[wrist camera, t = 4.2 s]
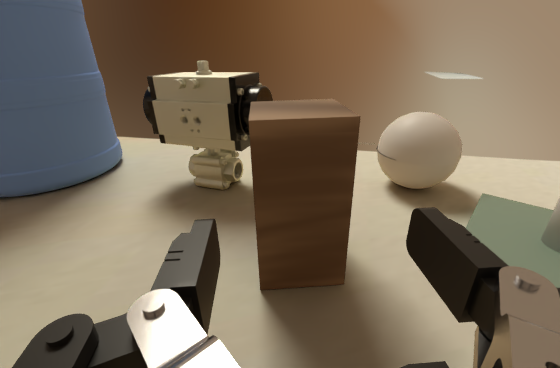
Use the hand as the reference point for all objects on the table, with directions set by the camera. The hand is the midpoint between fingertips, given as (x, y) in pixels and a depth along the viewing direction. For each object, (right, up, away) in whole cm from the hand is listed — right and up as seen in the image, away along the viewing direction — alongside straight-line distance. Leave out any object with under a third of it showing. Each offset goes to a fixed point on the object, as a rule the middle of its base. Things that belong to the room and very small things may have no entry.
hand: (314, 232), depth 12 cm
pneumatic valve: (-8, +2, +19) cm, 21 cm away
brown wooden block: (0, -3, +8) cm, 8 cm away
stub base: (+16, -3, +7) cm, 18 cm away
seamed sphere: (+11, +2, +18) cm, 21 cm away
